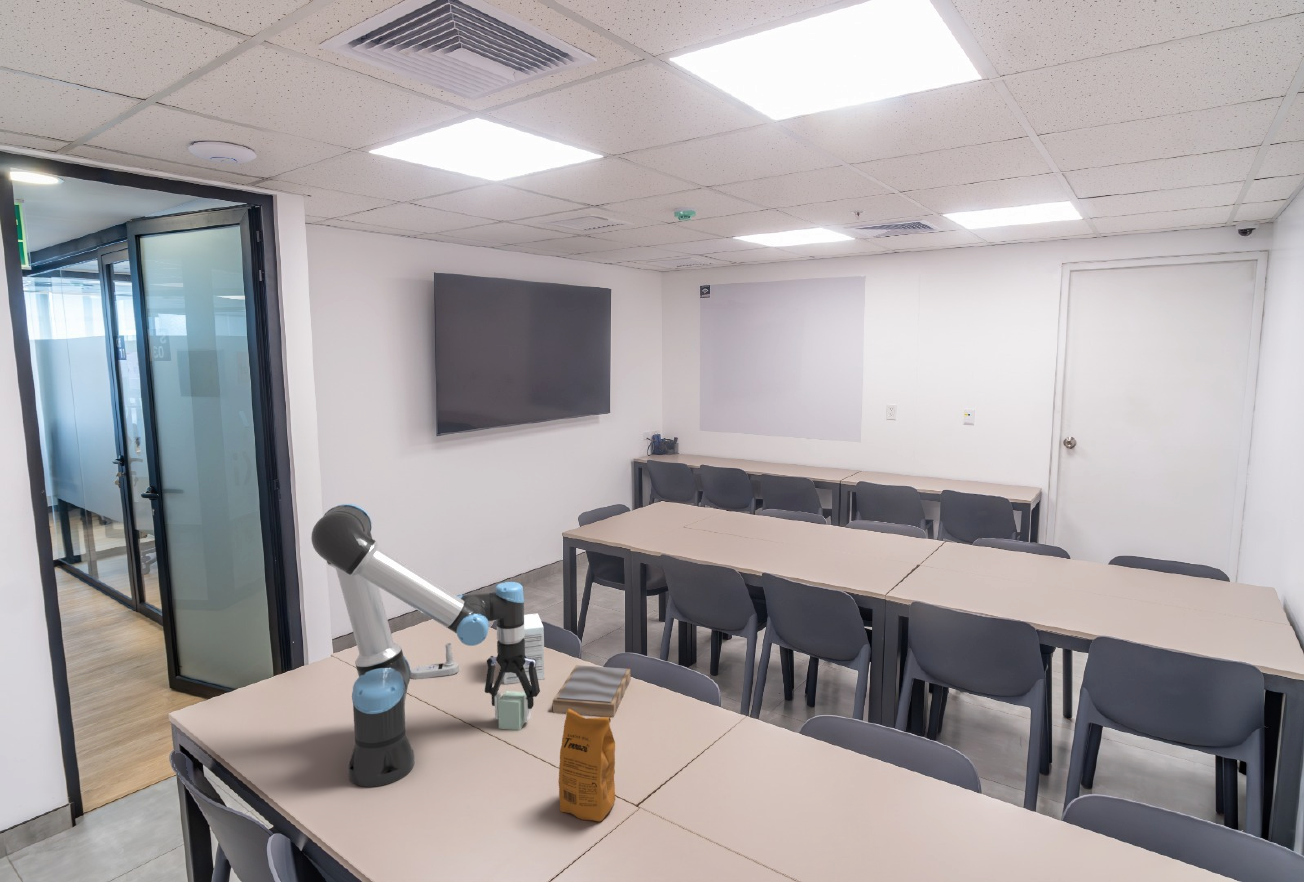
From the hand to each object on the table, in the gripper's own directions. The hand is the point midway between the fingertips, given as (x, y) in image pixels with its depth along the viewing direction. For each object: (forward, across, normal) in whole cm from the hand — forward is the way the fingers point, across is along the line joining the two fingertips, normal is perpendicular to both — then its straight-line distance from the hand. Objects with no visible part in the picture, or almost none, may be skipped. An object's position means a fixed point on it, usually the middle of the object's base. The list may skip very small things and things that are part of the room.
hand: (513, 717), depth 189 cm
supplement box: (+2, +9, -31) cm, 32 cm away
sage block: (+2, 0, 0) cm, 2 cm away
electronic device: (+2, +37, -26) cm, 45 cm away
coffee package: (+2, -30, +32) cm, 44 cm away
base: (+2, -18, -20) cm, 27 cm away
